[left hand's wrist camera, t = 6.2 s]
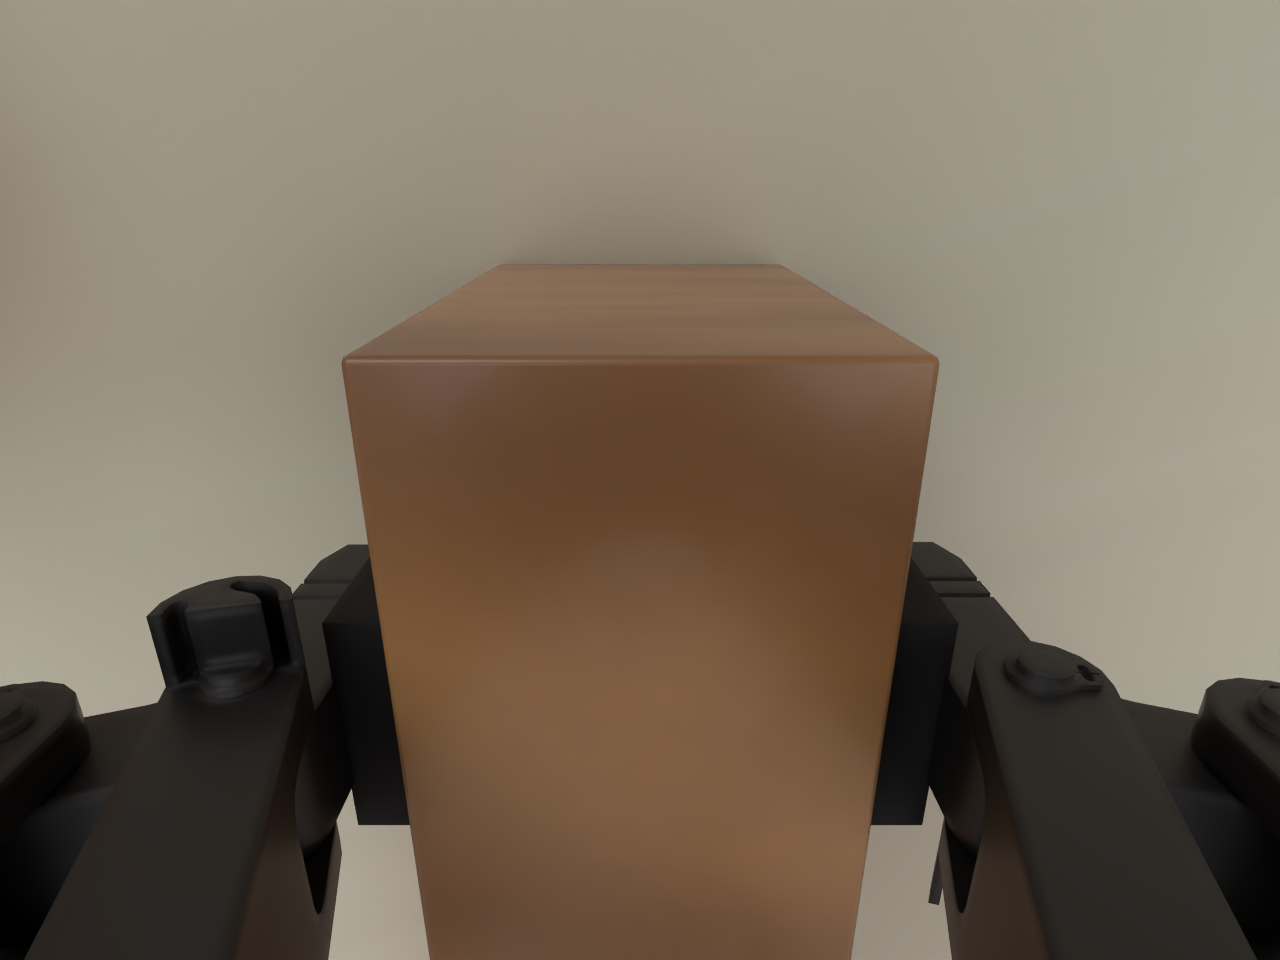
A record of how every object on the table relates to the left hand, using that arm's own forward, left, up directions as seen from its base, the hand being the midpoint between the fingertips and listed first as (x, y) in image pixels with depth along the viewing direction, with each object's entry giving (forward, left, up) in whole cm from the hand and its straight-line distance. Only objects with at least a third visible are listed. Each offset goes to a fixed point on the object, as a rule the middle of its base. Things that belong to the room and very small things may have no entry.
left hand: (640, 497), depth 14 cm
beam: (+28, 0, -1) cm, 28 cm away
